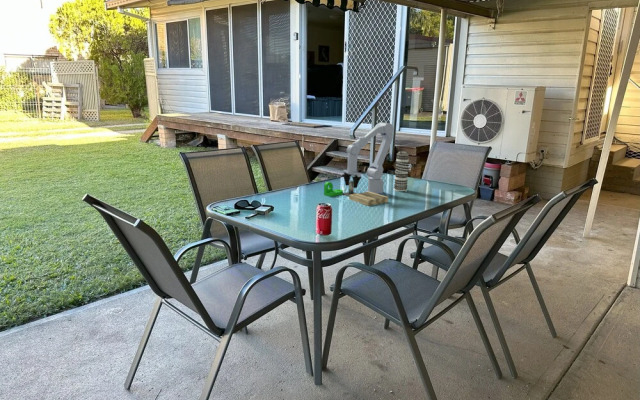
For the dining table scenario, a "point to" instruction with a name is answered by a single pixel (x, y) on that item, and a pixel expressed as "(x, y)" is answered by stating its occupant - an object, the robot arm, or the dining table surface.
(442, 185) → the dining table surface
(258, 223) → the dining table surface
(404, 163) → the grey striped cylinder
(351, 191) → the pin
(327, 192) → the mechanical part
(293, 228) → the dining table surface
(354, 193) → the mat
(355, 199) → the socket block
